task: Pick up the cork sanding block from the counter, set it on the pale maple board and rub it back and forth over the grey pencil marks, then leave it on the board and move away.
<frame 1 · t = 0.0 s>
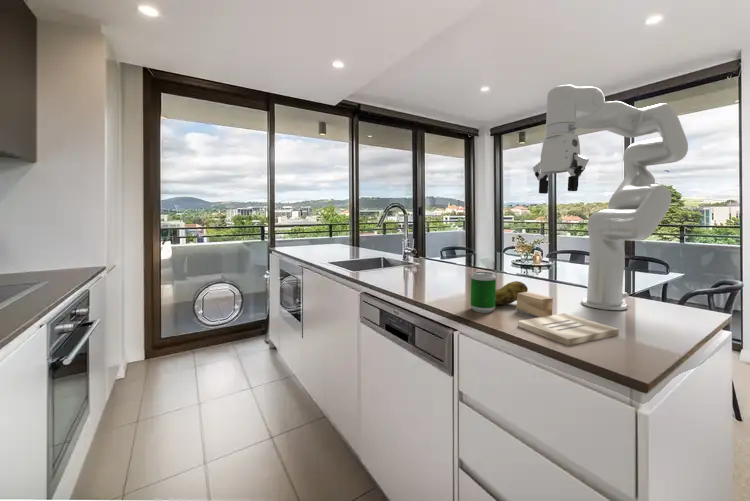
hand: (557, 192, 99), 37 cm above the counter, tool pointing down, fingers open, 9 cm apart
soda can: (482, 310, 107), on the counter
board: (566, 330, 88), on the counter
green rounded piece: (506, 305, 114), on the counter
sanding block: (533, 314, 102), on the counter
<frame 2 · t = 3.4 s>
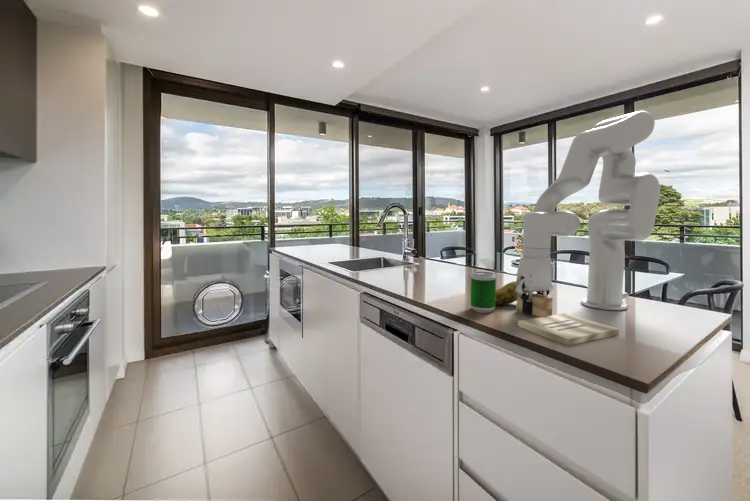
hand: (533, 312, 102), 1 cm above the counter, tool pointing down, fingers closed on sanding block, 4 cm apart
sanding block: (533, 314, 102), on the counter, touching gripper
everything else where it was.
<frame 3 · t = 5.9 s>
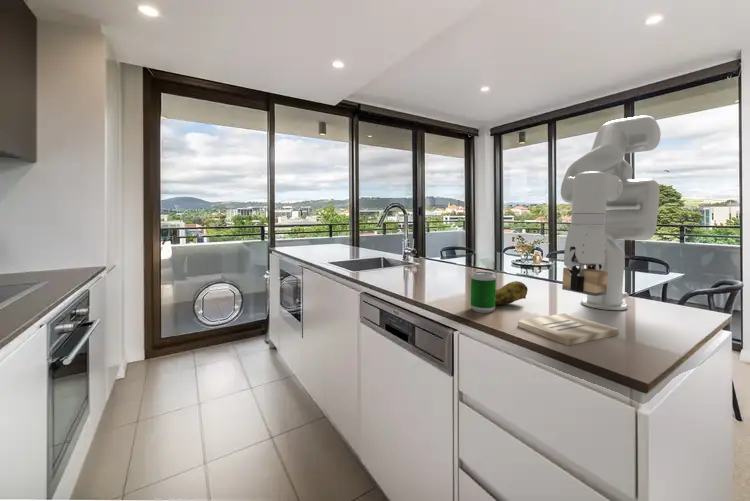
hand: (583, 289, 89), 10 cm above the counter, tool pointing down, fingers closed on sanding block, 4 cm apart
sanding block: (583, 291, 89), point 10 cm above the counter, touching gripper
everything else where it was.
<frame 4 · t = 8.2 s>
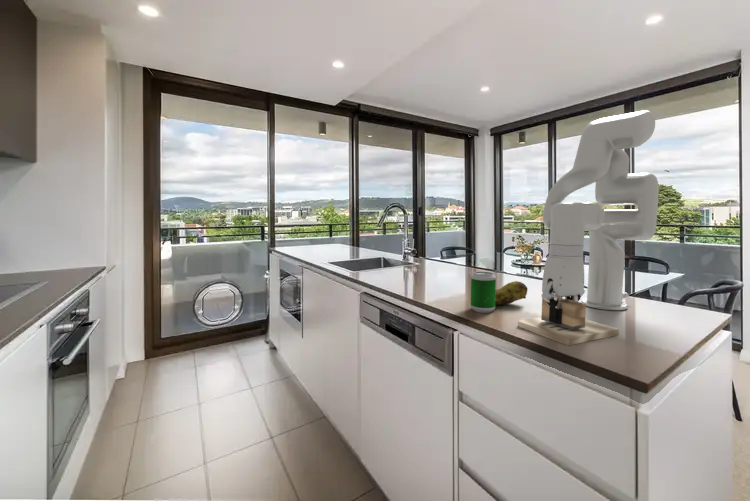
hand: (562, 320, 87), 3 cm above the counter, tool pointing down, fingers closed on sanding block, 4 cm apart
sanding block: (562, 323, 87), point 2 cm above the counter, touching gripper
everything else where it was.
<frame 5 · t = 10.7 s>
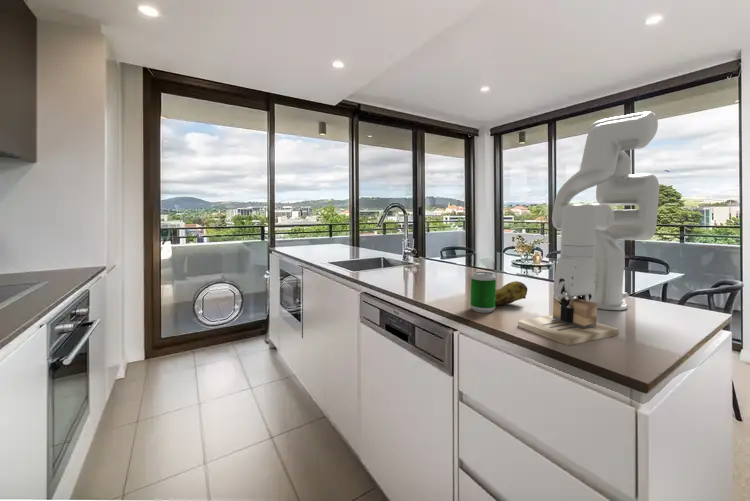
hand: (573, 319, 89), 2 cm above the counter, tool pointing down, fingers closed on sanding block, 4 cm apart
sanding block: (573, 322, 89), point 2 cm above the counter, touching gripper
everything else where it was.
when the fingers open (3 cm above the counter, at t = 13.2 s): sanding block stays where it is, resting on board.
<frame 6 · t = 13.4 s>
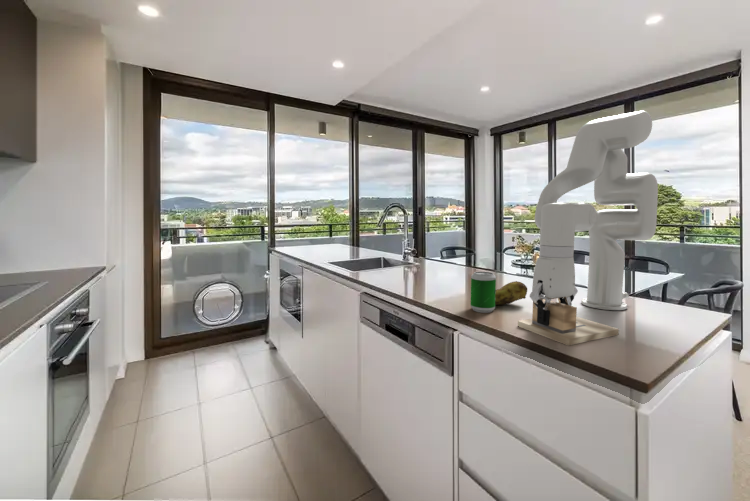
hand: (552, 321, 86), 3 cm above the counter, tool pointing down, fingers open, 6 cm apart
sanding block: (552, 326, 86), point 2 cm above the counter, touching board
everything else where it was.
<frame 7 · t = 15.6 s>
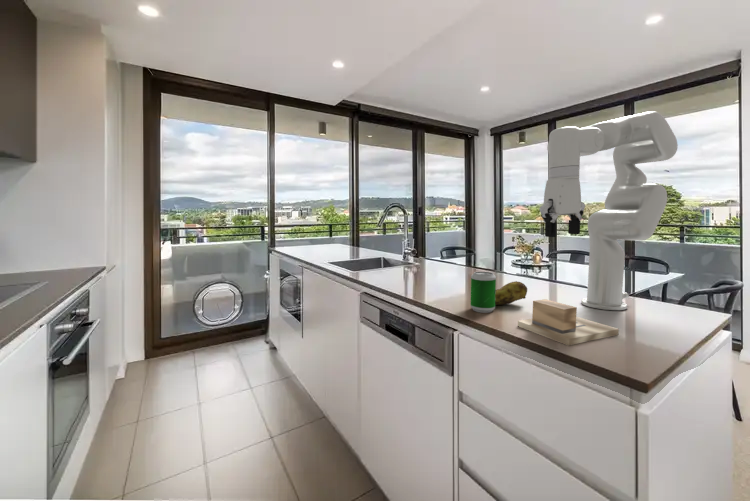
hand: (562, 235, 96), 24 cm above the counter, tool pointing down, fingers open, 9 cm apart
nothing on the counter moved.
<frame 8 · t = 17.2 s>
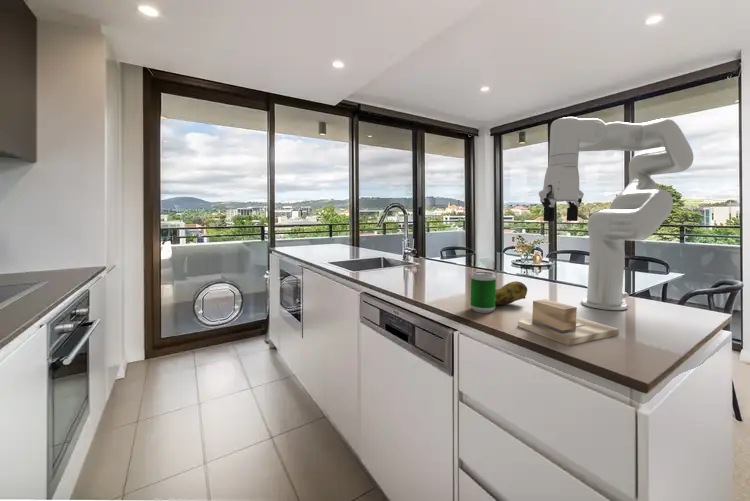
hand: (560, 221, 100), 28 cm above the counter, tool pointing down, fingers open, 9 cm apart
nothing on the counter moved.
at the end: sanding block inside the target area (0.1 cm from its centre), point 1.6 cm above the counter; sanding block touching board; the gripper is holding nothing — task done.
